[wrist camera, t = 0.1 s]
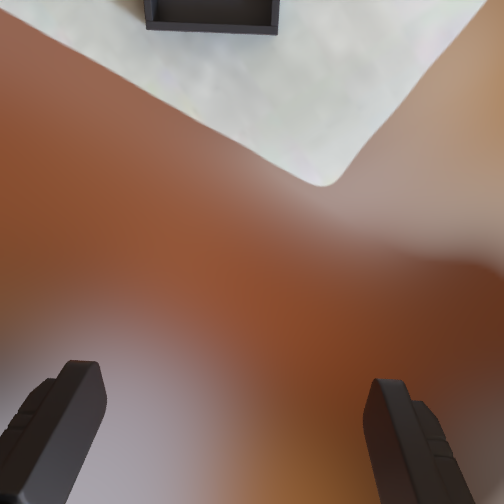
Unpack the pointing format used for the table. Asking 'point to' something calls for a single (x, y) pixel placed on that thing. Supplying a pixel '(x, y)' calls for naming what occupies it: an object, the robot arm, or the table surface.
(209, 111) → the table surface
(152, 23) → the tray
